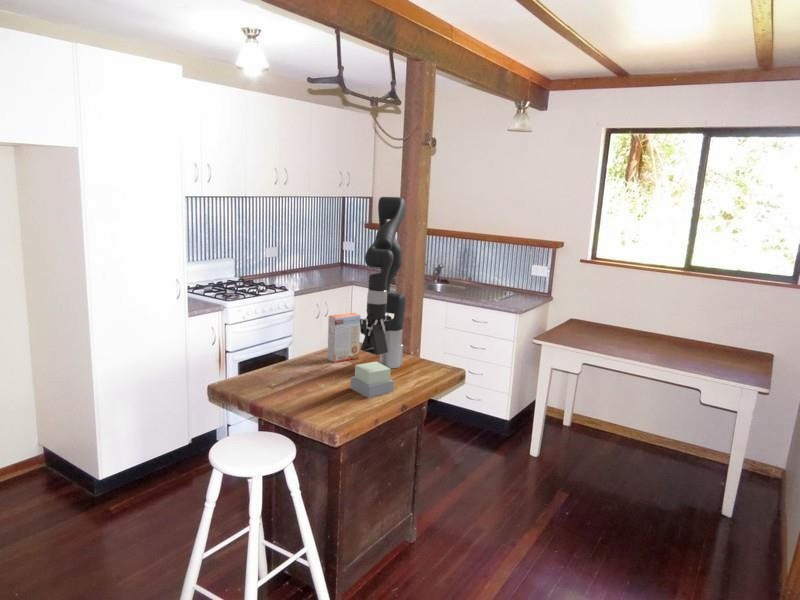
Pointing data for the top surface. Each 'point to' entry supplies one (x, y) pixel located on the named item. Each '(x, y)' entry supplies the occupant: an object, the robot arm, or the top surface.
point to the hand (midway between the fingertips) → (374, 343)
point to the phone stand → (376, 341)
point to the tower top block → (372, 373)
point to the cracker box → (343, 337)
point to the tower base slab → (371, 387)
